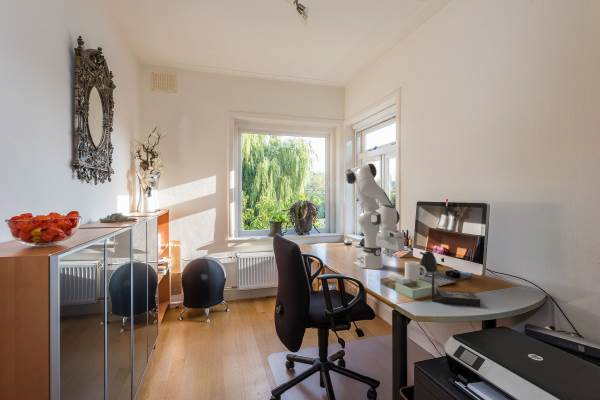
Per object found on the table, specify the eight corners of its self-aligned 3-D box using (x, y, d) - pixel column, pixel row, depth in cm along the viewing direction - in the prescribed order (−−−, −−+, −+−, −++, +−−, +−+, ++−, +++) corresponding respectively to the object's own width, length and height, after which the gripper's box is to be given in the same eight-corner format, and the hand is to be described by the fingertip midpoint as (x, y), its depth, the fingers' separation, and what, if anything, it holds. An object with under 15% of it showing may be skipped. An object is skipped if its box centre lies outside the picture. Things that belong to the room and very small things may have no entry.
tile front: (396, 281, 159) (396, 277, 159) (402, 280, 161) (403, 276, 161) (402, 284, 154) (402, 279, 154) (409, 282, 156) (409, 278, 156)
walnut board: (380, 283, 164) (380, 278, 164) (399, 280, 170) (399, 275, 170) (396, 291, 152) (396, 285, 152) (416, 287, 158) (416, 282, 158)
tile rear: (389, 278, 164) (389, 274, 164) (395, 277, 166) (396, 273, 166) (395, 281, 159) (395, 276, 159) (402, 280, 161) (402, 275, 161)
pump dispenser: (418, 272, 188) (419, 249, 187) (436, 273, 184) (436, 250, 184) (419, 276, 178) (420, 252, 178) (438, 278, 175) (438, 253, 174)
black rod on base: (470, 298, 143) (471, 264, 143) (481, 309, 130) (482, 271, 129) (427, 295, 148) (427, 261, 147) (433, 305, 134) (434, 269, 134)
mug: (425, 278, 173) (425, 261, 173) (427, 283, 166) (427, 265, 165) (404, 277, 177) (404, 260, 177) (404, 281, 169) (405, 263, 169)
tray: (395, 291, 152) (395, 282, 152) (417, 287, 158) (418, 279, 158) (413, 299, 140) (413, 290, 140) (437, 294, 147) (437, 285, 147)
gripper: (373, 231, 175) (373, 253, 175) (397, 235, 156) (397, 260, 156) (381, 230, 178) (381, 252, 178) (406, 234, 159) (406, 259, 159)
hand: (389, 256), depth 167 cm, fingers closed
